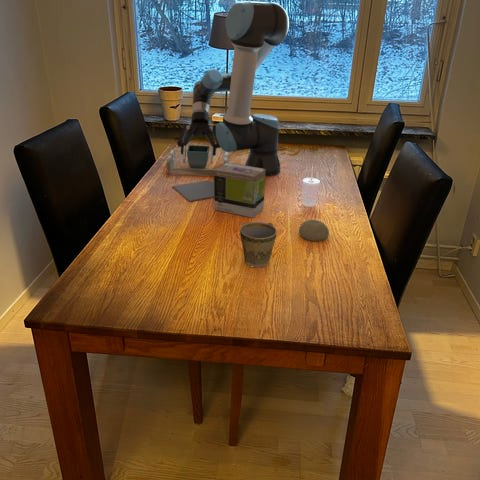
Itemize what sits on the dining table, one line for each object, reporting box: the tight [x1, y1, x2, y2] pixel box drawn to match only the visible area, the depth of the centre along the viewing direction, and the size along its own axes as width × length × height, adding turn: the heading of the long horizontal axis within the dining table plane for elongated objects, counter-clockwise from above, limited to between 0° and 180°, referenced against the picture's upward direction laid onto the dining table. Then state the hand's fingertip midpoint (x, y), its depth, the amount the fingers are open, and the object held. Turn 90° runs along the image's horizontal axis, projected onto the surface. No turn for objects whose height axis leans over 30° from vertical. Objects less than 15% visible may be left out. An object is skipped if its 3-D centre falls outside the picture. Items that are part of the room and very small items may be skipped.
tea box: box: [213, 162, 266, 219], centre depth 158 cm, size 15×10×15 cm
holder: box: [166, 148, 229, 177], centre depth 196 cm, size 16×24×6 cm, turn 89°
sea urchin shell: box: [298, 219, 330, 242], centre depth 144 cm, size 9×8×8 cm
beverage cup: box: [301, 166, 321, 207], centre depth 164 cm, size 6×6×14 cm
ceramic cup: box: [239, 221, 278, 268], centre depth 129 cm, size 13×10×10 cm
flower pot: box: [186, 144, 211, 169], centre depth 195 cm, size 9×9×9 cm
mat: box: [171, 179, 214, 203], centre depth 175 cm, size 16×16×1 cm
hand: (197, 161), depth 193 cm, fingers open, 11 cm apart
